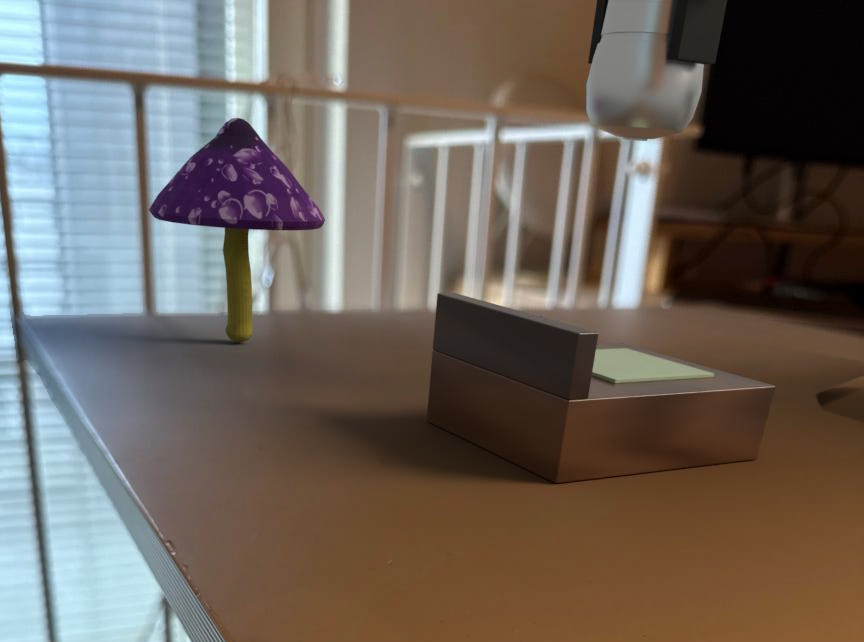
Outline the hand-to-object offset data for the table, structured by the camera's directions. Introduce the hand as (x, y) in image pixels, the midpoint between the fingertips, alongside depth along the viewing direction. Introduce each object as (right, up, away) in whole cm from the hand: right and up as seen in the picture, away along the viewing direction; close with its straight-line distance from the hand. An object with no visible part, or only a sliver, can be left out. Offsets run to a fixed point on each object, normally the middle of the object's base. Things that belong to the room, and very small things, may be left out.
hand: (648, 62), depth 54 cm
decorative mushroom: (-26, -10, +19) cm, 33 cm away
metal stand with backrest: (-4, -21, 0) cm, 22 cm away
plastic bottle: (0, -4, +2) cm, 4 cm away
